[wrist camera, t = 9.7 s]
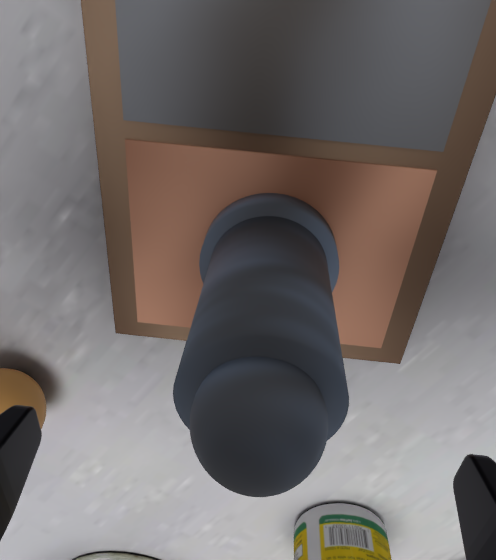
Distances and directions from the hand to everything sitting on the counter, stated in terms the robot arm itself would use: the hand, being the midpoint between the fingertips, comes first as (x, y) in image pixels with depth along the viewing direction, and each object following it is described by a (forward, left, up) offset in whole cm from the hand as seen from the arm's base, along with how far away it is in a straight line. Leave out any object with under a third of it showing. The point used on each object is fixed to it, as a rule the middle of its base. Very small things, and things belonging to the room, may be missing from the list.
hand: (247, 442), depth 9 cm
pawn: (0, 0, -8) cm, 8 cm away
